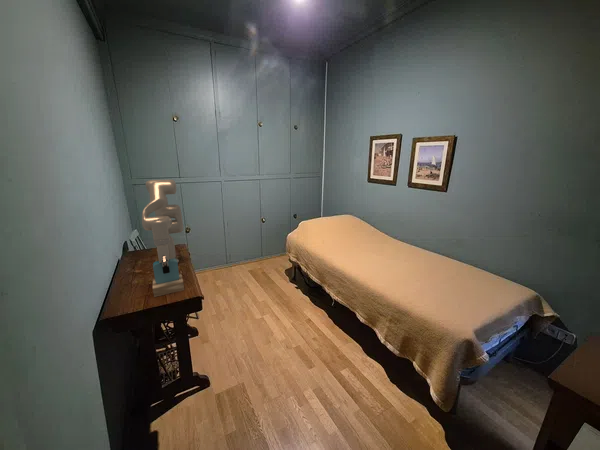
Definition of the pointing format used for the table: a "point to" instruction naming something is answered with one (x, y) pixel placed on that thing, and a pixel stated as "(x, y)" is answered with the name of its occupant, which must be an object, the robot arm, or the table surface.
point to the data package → (168, 276)
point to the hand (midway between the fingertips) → (166, 269)
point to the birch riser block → (168, 287)
